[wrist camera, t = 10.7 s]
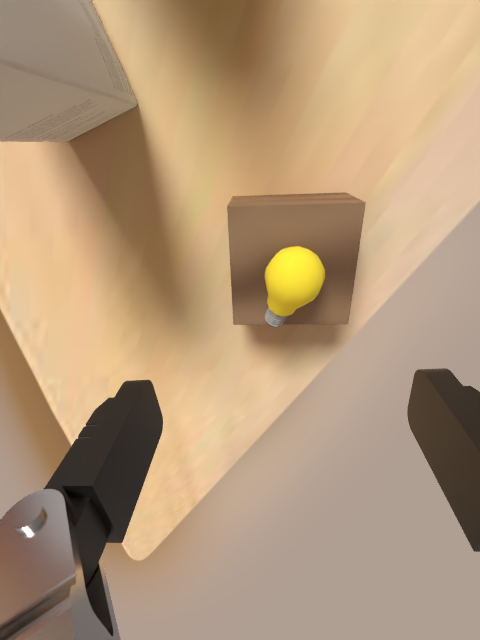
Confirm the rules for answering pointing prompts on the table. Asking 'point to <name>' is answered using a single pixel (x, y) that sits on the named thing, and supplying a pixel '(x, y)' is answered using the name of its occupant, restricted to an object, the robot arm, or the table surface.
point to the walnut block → (289, 231)
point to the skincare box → (57, 71)
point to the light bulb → (291, 282)
